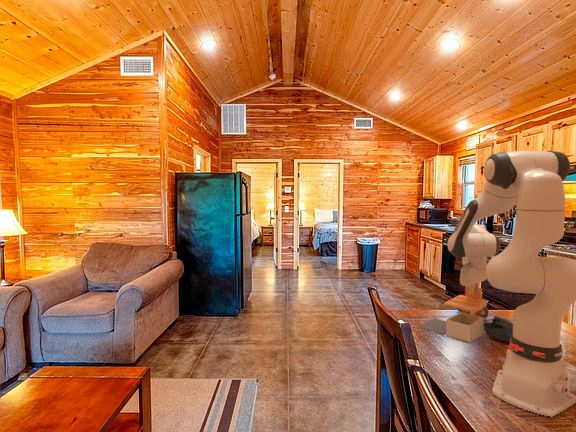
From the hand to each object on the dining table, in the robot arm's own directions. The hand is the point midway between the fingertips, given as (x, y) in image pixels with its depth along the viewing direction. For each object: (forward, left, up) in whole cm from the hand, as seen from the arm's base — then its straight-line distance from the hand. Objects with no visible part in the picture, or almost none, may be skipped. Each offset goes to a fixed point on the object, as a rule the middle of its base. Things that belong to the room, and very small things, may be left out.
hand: (473, 293), depth 136 cm
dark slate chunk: (+6, -10, -17) cm, 20 cm away
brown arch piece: (+18, +7, -17) cm, 25 cm away
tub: (-8, 0, -16) cm, 18 cm away
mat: (-7, +12, -16) cm, 21 cm away
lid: (-8, 0, -4) cm, 9 cm away
